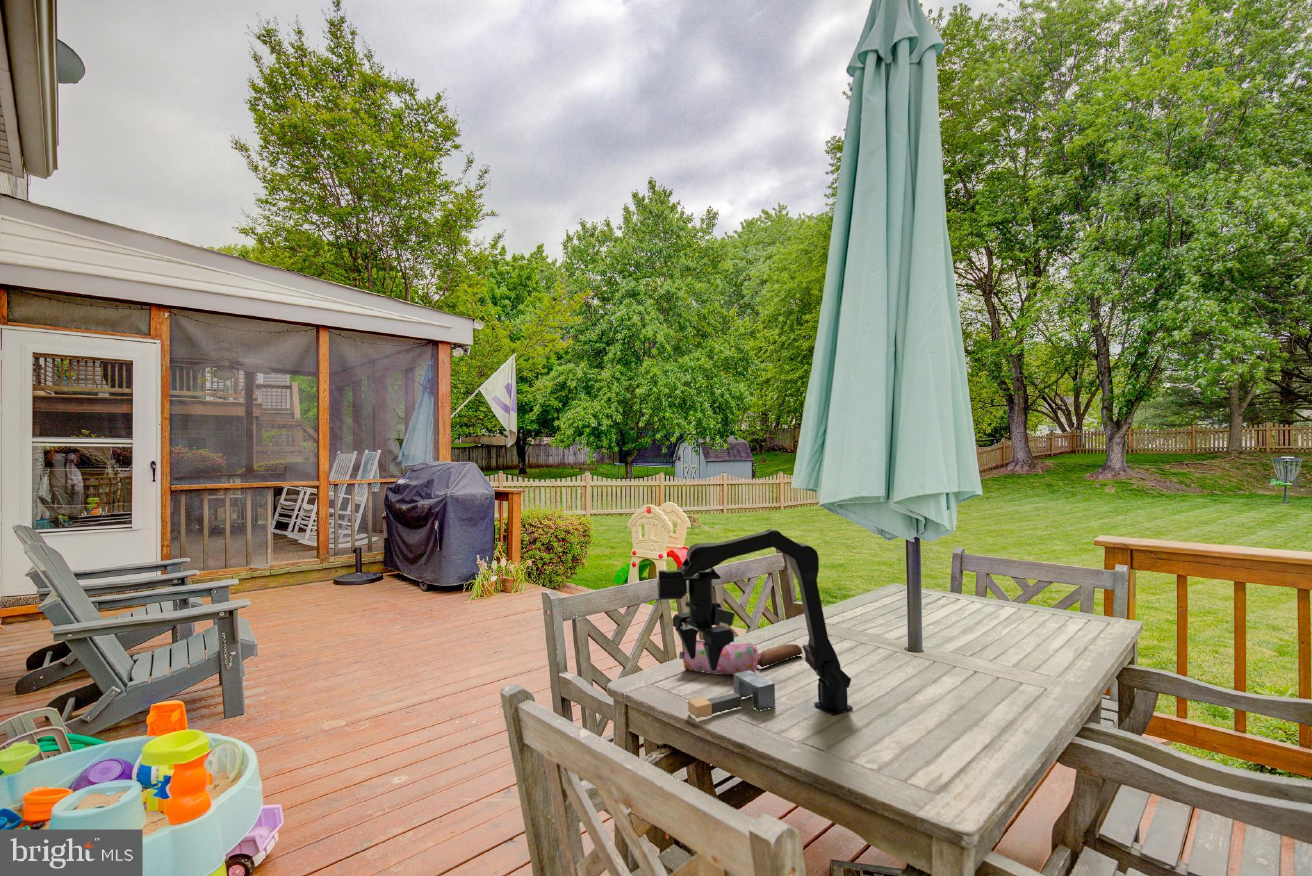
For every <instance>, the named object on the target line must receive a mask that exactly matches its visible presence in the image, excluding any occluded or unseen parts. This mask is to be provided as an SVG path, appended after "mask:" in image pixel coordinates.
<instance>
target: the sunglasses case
mask: <svg viewBox="0 0 1312 876" xmlns="http://www.w3.org/2000/svg"><path fill="white" fill-rule="evenodd" d="M800 654H802V655H803V650H802V648H801V646H799V645H798V644H794V643H793V644H792V643H791V644H790V643H788V644H787V643H786V644H781V645H778V646H774V647H771V648H766V649H765V650H762V651H761V652H760V653H759V652H758V657H757V659H758V662H757V665H760V666H761V667H764V666H767V665H771V664H773V665H775V664H774V663H776V662H778V663H781V662H780V661H782V660H785V659H787V658H791V657H793V656H797V655H800ZM797 657H798V656H797ZM791 659H792V658H791ZM787 660H788V659H787ZM785 661H786V660H785ZM782 662H783V661H782ZM776 664H777V663H776Z"/></svg>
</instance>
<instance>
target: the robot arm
mask: <svg viewBox="0 0 1312 876" xmlns="http://www.w3.org/2000/svg"><path fill="white" fill-rule="evenodd" d="M770 548H774V549H776V550H778V551H779V552H780V553H782V554H783V555H786V559H787V560H788V563H789V565H790V568H791V570H792V573H793V574H794V576H795V578H796V580H797V583H798V588H799V592H800V593H799V594H800V596H801V597H800V599H801V602H802V607H803V612H804V618H805V623H806V627H807V633H808V634H807V635H808V642H807V644H803V645H802V648H803V652H804V656H805V658H804V662H806V663H807V665H809V667H810V668H811V669H812V670H813V671H814V672H815V674H816V675H817V677H818V681H817V682H818V684H817V693H818V694H817V695H818V696H817V698H818V701H816V702H814V703H813V704H814V707H817V708H819V709H821V710H822V711H825V712H826V713H829V714H830V715H832V716H836V715H838V714H841V713H845V712H848V711H851V710H853V706H851V705H850V704H849V703H848V689H849V688H850V685H851V681H852V679H851V677H850V676H849V675H847V673H846V672H844V671H843V670H842V668H841V667H842V666H841V663H840V660H839V658H838V655H837V653H836V651H835V649H834V647H833V645H832V643H831V641H830V639H829V634H828V631H827V625H826V620H825V615H824V611H823V606H822V600H821V596H820V590H819V585H818V576H819V571H820V564H819V563H820V561H819V553H818V551H817V550H816V549H815V548H814V547H813V546H811V545H807V544H805V543H803V542H799V541H798V542H796V541H794V540H792V539H790V538H789V537H787V536H786V535H784V534H782V532H780V531H778V530H776V529H773V528H767V529H766V530H764V531H760V532H756V533H753V534H752V533H751V534H749V535H744V536H740V537H737V538H734V539H730V540H725V541H720V542H700V543H694V544H692V545H690V546H689V548H688V549H687V551H686V556H685V557H686V558H685V559H684V560H683V562H682V564H681V565H680V566H679V568H678V570H664V569H663V570H662V569H660V570H657V571H658V573H657V574H658V576H657V582H656V583H657V584H656V585H657V587H656V588H657V600H658V601H661V600H662V601H664V600H665V601H666V600H667V601H668V600H683V597H685V596H686V595H687V594H688V601H685V606H686V607H687V608H688V612H681V613H675V614H674V616H672V627H674V628H675V631H676V633H677V635H678V637H679V639H680V640H681V642H682V644H683V645H684V649H685V648H686V650H687V652H688V654H689V656H690V658H691V659H694V658H695V654H696V640H697V636H698V634H699V632H701V633H702V638H703V639H702V640H703V641H705V642H704V643H703V645H704V649H705V652H706V655H707V659H708V662H709V666H710V668H711V671H715V670H716V668H717V665H718V661H719V658H720V655H721V652H722V650H723V648H724V647H725V646H726V645H729V644H731V643H735V632H734V630H732V629H731V628H729V627H726V626H724V625H720V623H721V624H725V625H728V626H730V627H732V626H733V623H734V619H735V615H736V613H735V612H733V611H731V610H727V609H724V608H722V604H721V603H720V602H715V601H714V595H713V594H714V591H713V580H721V578H722V577H721V575H719V574H718V572H716V570H715V568H714V567H717V566H719V565H720V564H721V563H723V562H725V561H727V560H730V559H733V558H737V557H740V556H743V555H747V554H748V555H749V554H750V553H751V554H752V553H755V552H759V551H763V550H766V549H770ZM687 581H688V584H687ZM687 585H688V587H687ZM713 626H714V627H713Z"/></svg>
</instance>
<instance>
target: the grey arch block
mask: <svg viewBox="0 0 1312 876" xmlns="http://www.w3.org/2000/svg"><path fill="white" fill-rule="evenodd" d="M775 687H776V686H775V682H773V681H772V680H769V679H767V678H765V677H763V676H762V675H759V674H758V673H756V672H755V673H754V672H752V671H750V670H748V671H744V672H739V673H735V674H733V693H737V694H738V695H740V696H741V698H742V697H747V696H750V695H753V697H752V708H753V707H754V708H756V710H758V711H760V710H764V709H768V708H772V709H774V708H773V707H775V708H776V689H775ZM756 710H755V711H756ZM758 711H757V712H758Z"/></svg>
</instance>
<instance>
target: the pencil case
mask: <svg viewBox="0 0 1312 876" xmlns="http://www.w3.org/2000/svg"><path fill="white" fill-rule="evenodd" d="M704 642H705V641H704V639H702V640H701V639H696V654H695V658H694V659H691V658H690V656H689V654H688V652H687V650H686V648H685V647H684V651H679V656H678V657H679V660H682V662H683V667H684V669H685V670H686V669H689V670H688V671H692V670H694V671H693V672H699V671H704V672H710V673H722V674H721V675H734V674H735V673H739V672H744V671H748V670H750V671H752V672H754V673H756V672H757V662H758V659H757V657H758V654H759V652H758V648H757V646H756V645H755V644H752V643H750V642H749V643H739V644H738V643H737V644H731V643H730V644H729V645H726V646H725V647H724V648H723V650H722V652H721V655H720V658H719V661H718V665H717V668H716V670H715V671H711V668H710V666H709V662H708V659H707V655H706V652H705V649H704V645H703V643H704ZM755 671H756V672H755ZM704 672H703V673H704ZM710 673H709V674H710Z"/></svg>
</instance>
